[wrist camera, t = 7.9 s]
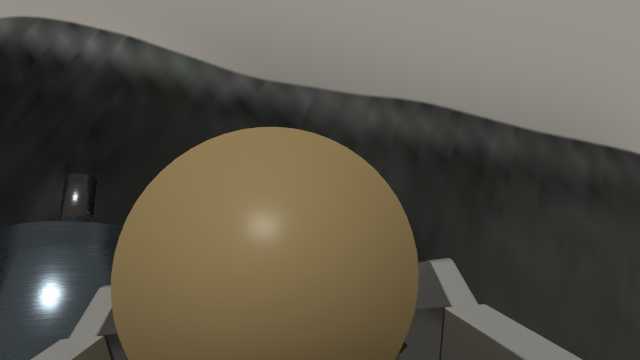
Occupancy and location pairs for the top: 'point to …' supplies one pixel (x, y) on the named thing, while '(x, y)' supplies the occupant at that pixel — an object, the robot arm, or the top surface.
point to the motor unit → (53, 272)
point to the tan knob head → (265, 255)
